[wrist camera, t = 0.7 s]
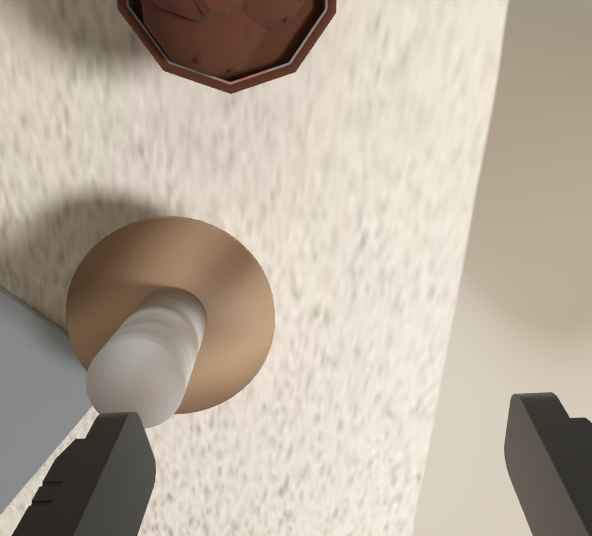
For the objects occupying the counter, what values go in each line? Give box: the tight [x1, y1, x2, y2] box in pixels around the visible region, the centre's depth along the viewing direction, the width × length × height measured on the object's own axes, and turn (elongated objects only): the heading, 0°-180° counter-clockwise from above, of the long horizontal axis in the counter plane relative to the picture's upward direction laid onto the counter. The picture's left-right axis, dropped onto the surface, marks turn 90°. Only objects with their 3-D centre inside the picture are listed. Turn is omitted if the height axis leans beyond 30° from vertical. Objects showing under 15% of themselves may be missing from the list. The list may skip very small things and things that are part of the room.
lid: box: [66, 216, 275, 428], centre depth 27 cm, size 13×13×10 cm
